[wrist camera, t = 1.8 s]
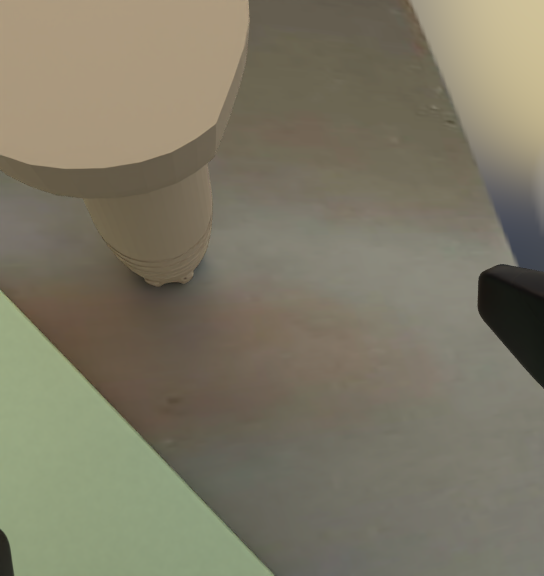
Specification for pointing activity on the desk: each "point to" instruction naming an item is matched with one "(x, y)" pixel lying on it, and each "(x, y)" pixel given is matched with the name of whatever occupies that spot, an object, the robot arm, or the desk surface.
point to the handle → (124, 115)
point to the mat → (92, 479)
